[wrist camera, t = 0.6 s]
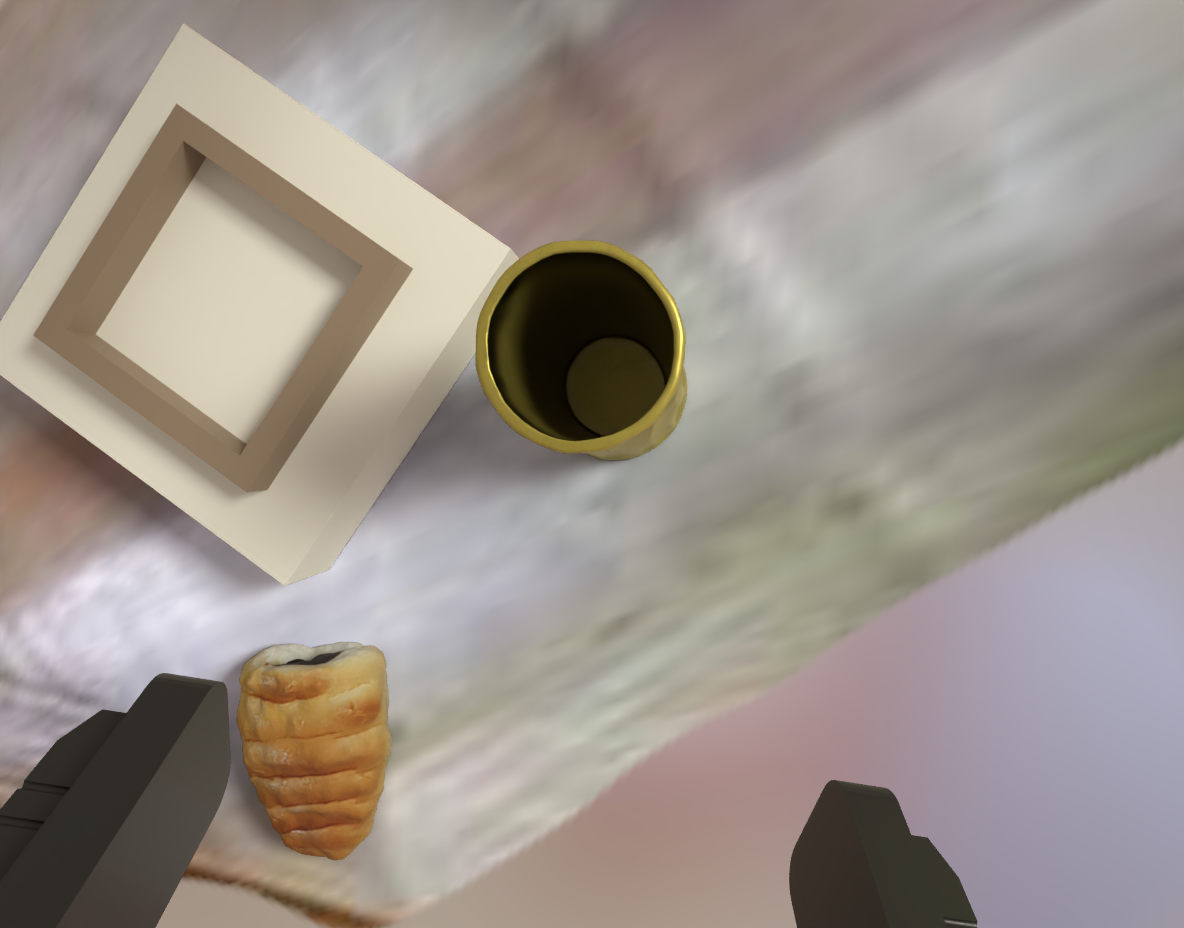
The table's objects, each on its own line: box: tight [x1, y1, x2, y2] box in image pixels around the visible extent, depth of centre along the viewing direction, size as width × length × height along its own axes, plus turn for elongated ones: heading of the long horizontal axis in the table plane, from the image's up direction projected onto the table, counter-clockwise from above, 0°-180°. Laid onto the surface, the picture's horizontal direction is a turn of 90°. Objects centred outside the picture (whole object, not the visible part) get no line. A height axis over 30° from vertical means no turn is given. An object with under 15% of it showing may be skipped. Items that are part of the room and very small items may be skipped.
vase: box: [476, 241, 687, 460], centre depth 25 cm, size 6×6×14 cm
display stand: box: [0, 23, 519, 586], centre depth 31 cm, size 16×16×6 cm
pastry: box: [237, 642, 391, 860], centre depth 32 cm, size 9×7×4 cm
